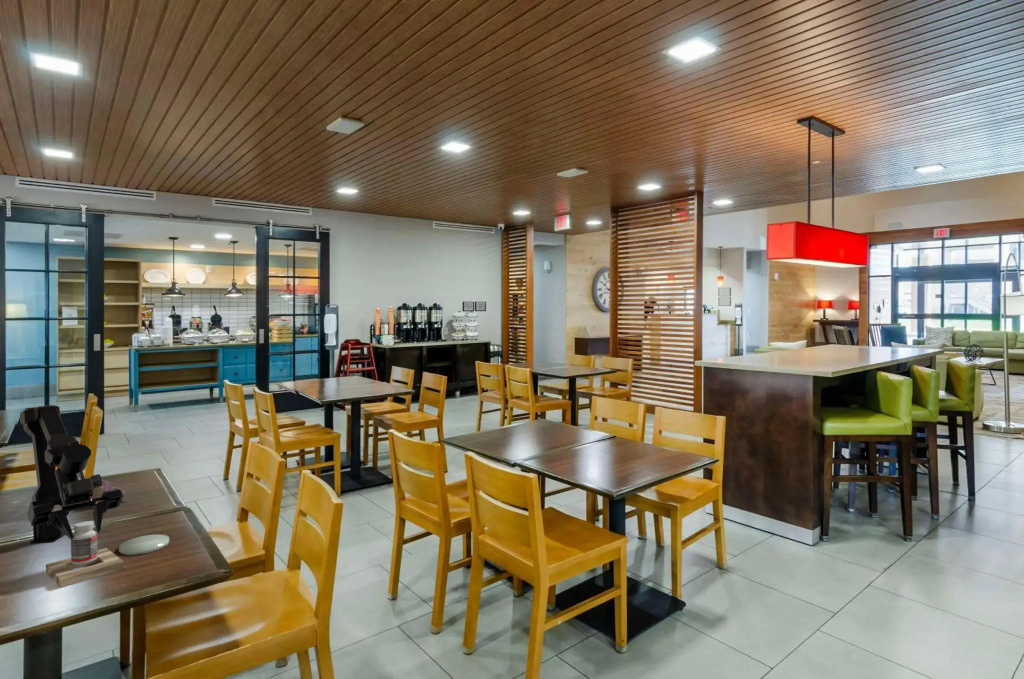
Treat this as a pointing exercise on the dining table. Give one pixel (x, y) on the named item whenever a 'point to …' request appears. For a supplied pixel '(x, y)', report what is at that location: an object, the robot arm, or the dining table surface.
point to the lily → (110, 487)
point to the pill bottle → (84, 543)
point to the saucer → (143, 544)
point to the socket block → (66, 576)
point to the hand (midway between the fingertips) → (85, 534)
